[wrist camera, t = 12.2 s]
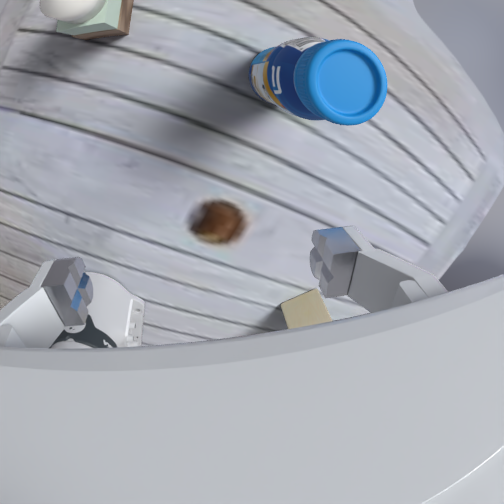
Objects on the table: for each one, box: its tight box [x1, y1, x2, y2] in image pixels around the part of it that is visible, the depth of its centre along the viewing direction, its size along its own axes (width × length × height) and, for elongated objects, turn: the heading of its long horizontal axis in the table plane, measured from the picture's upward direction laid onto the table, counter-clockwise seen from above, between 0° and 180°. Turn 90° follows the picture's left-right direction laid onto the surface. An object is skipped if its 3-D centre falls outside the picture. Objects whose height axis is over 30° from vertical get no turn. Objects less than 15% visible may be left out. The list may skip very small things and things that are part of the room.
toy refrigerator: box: [281, 289, 332, 329], centre depth 50 cm, size 8×7×21 cm
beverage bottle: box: [249, 37, 387, 125], centre depth 25 cm, size 8×8×20 cm
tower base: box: [72, 0, 134, 40], centre depth 22 cm, size 6×6×5 cm
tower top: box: [56, 0, 122, 35], centre depth 18 cm, size 6×6×5 cm
